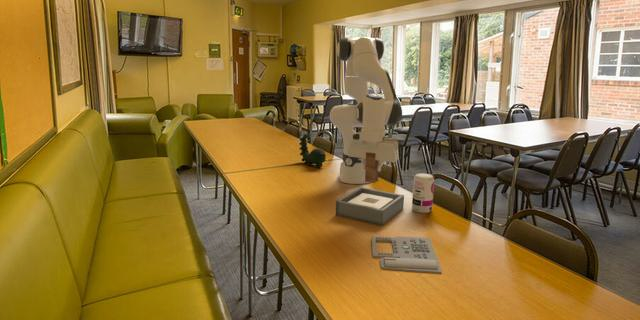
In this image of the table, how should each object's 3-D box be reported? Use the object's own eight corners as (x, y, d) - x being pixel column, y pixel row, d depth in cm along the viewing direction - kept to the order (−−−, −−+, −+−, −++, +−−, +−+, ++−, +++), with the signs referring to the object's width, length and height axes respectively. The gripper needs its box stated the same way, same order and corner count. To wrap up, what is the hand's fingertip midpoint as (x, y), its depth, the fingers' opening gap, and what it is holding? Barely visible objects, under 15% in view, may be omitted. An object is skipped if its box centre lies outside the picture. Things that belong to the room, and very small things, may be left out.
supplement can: (432, 208, 172) (435, 173, 168) (431, 214, 164) (433, 179, 161) (413, 205, 174) (415, 172, 171) (410, 212, 167) (413, 177, 163)
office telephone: (443, 267, 118) (373, 263, 120) (442, 275, 118) (373, 271, 120) (429, 234, 140) (371, 231, 142) (429, 241, 141) (371, 238, 143)
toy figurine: (296, 165, 248) (318, 170, 227) (294, 134, 245) (317, 136, 224) (309, 163, 253) (332, 168, 233) (308, 132, 250) (331, 135, 230)
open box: (360, 200, 181) (360, 187, 179) (403, 208, 170) (404, 195, 169) (335, 215, 162) (336, 201, 161) (381, 226, 152) (382, 210, 151)
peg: (369, 179, 166) (370, 150, 163) (378, 181, 164) (379, 151, 161) (364, 181, 162) (365, 152, 160) (373, 183, 160) (375, 153, 158)
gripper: (401, 137, 156) (399, 172, 159) (354, 132, 167) (353, 165, 170) (395, 139, 151) (393, 175, 154) (346, 134, 161) (346, 168, 165)
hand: (372, 170), depth 162 cm, fingers closed on peg, 4 cm apart
